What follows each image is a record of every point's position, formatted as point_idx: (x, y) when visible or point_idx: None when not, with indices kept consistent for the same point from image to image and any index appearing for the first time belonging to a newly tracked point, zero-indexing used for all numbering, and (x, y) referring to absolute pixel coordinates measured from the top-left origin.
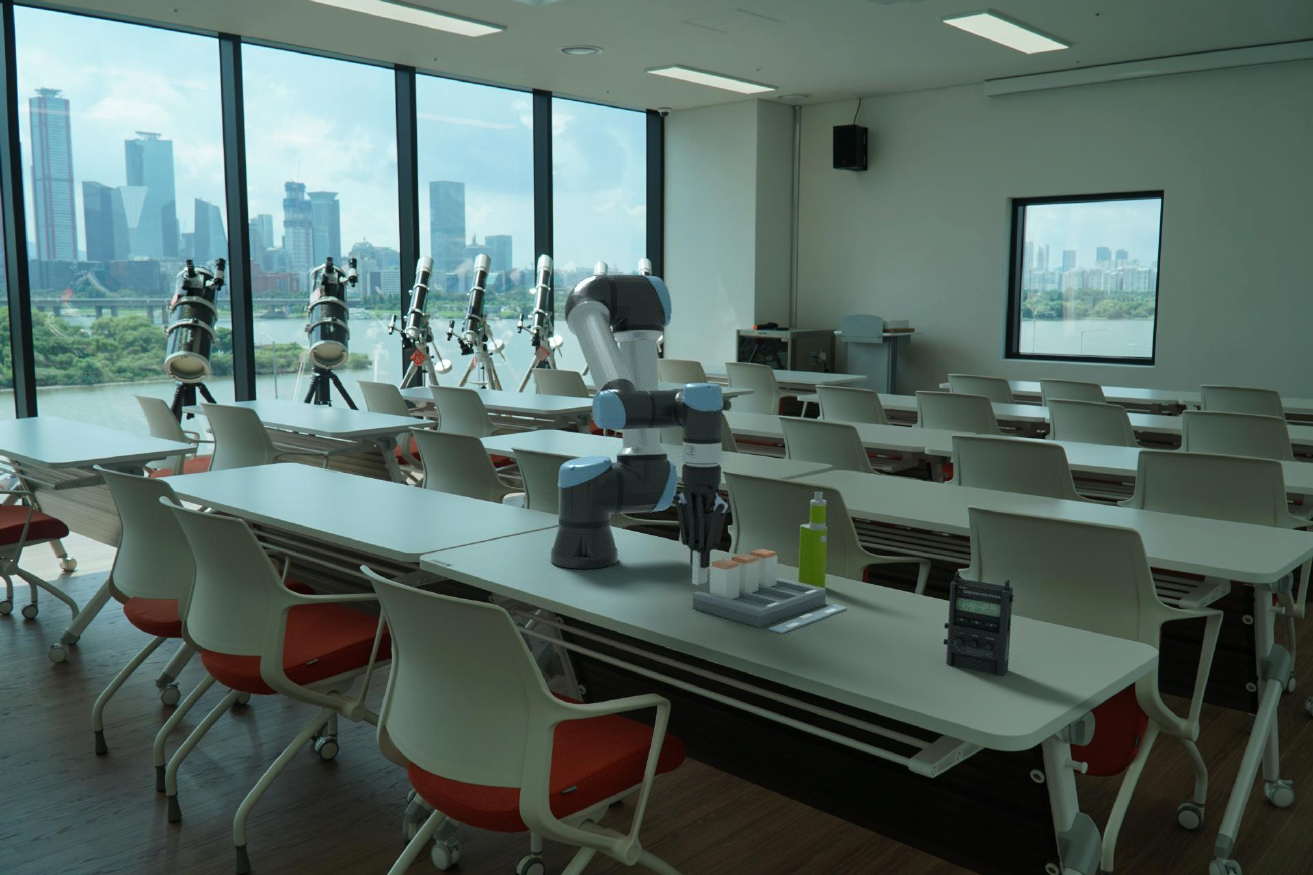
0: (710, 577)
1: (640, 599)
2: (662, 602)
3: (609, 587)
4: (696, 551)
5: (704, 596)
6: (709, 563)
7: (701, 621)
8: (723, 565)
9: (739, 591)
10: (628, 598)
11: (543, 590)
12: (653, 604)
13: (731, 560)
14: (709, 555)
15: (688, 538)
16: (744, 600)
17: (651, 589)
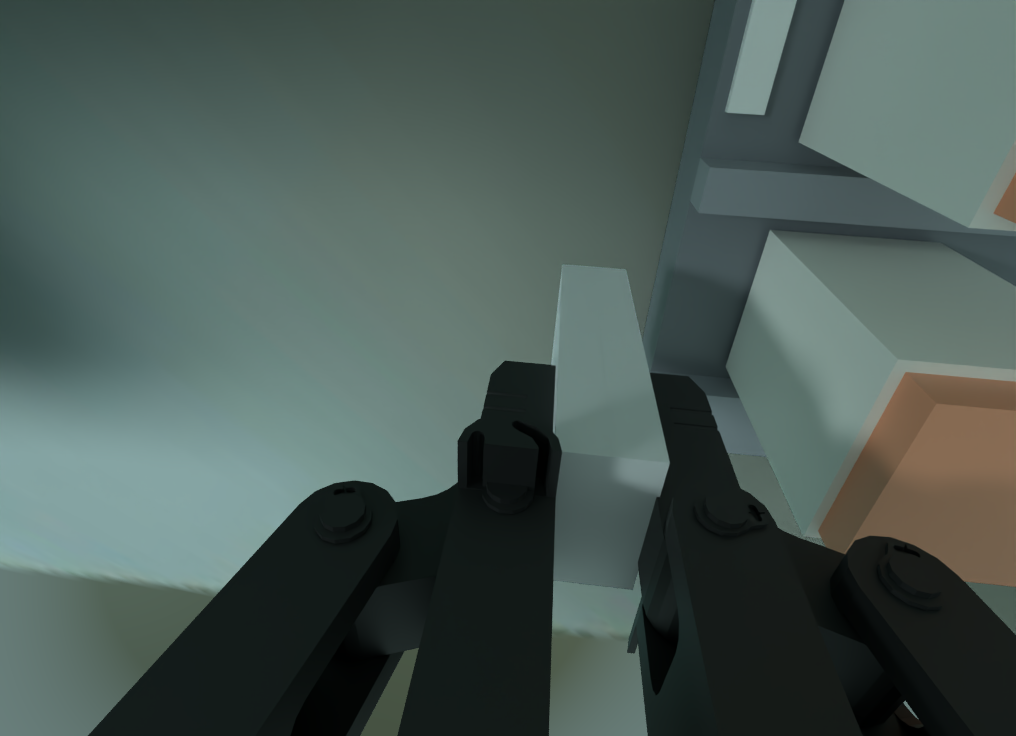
0: (772, 458)
1: (332, 421)
2: (442, 398)
3: (66, 364)
4: (590, 575)
5: (737, 452)
6: (707, 406)
7: (773, 503)
8: (1001, 578)
9: (954, 222)
10: (285, 439)
11: (14, 532)
12: (435, 443)
13: (985, 198)
14: (729, 472)
15: (353, 636)
16: (999, 269)
17: (204, 251)
